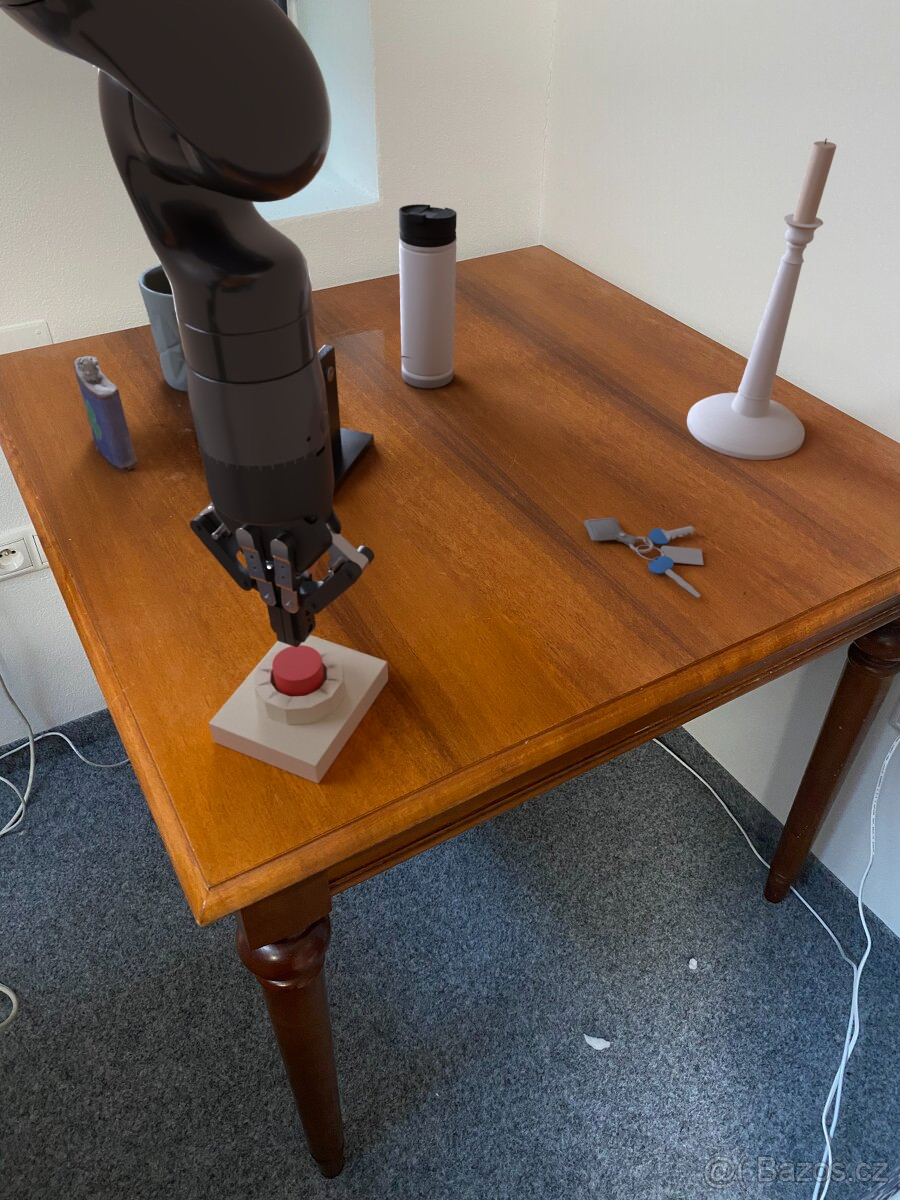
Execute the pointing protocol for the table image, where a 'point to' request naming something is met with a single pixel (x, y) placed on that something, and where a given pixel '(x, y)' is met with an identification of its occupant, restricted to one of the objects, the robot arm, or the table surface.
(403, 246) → the travel mug
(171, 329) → the grey hollow tapered cylinder
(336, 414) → the bracket
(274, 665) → the button
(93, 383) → the blue squeeze pouch
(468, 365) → the table surface
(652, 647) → the table surface
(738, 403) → the candlestick
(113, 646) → the table surface
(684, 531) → the key chain
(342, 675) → the button box
